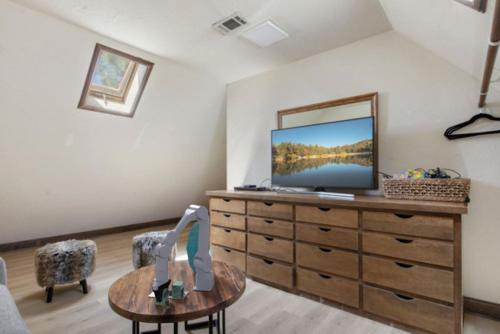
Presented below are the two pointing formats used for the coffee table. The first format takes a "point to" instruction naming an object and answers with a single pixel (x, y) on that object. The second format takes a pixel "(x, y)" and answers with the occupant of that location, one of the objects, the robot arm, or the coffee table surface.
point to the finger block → (163, 297)
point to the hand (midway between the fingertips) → (161, 298)
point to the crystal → (193, 244)
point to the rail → (175, 291)
